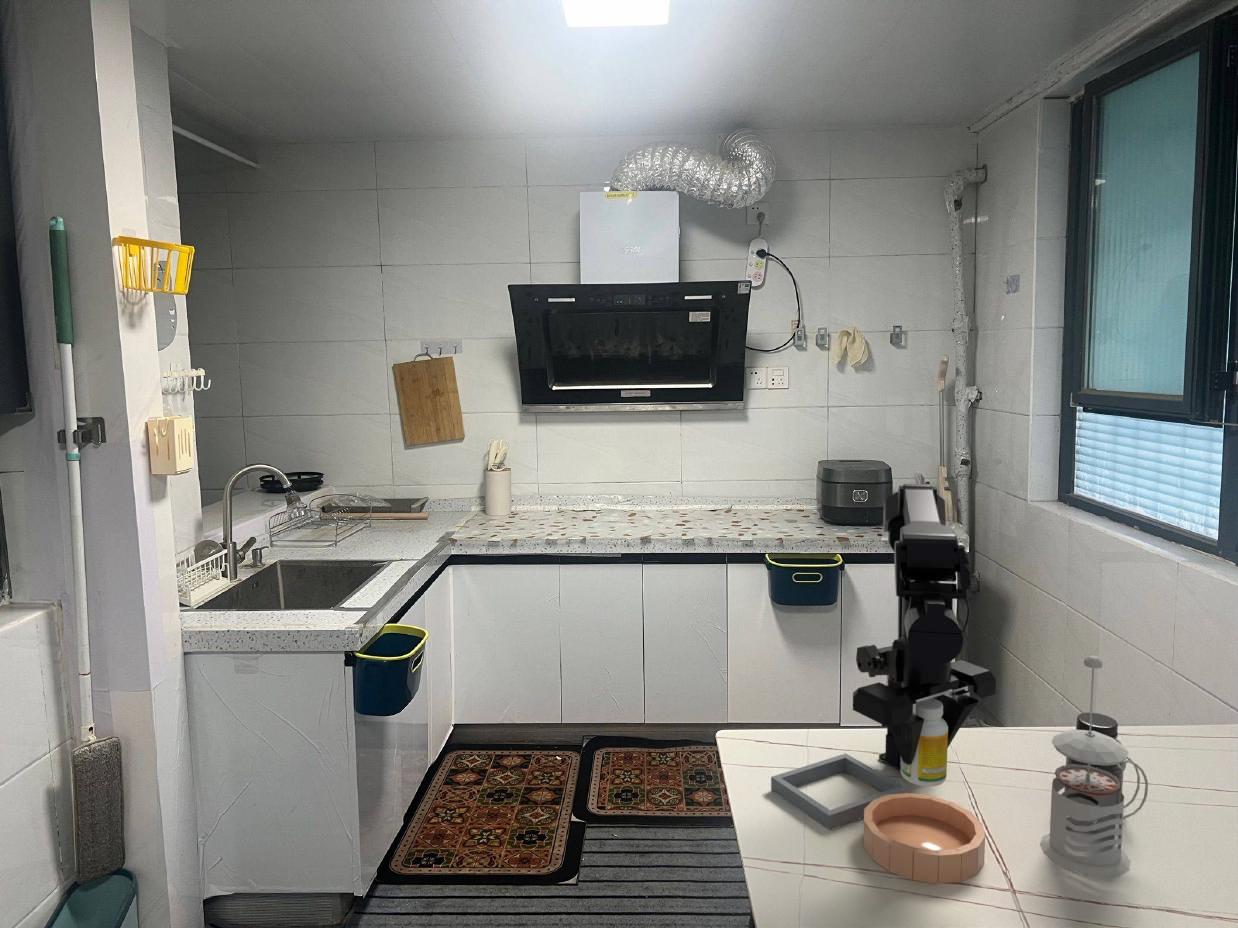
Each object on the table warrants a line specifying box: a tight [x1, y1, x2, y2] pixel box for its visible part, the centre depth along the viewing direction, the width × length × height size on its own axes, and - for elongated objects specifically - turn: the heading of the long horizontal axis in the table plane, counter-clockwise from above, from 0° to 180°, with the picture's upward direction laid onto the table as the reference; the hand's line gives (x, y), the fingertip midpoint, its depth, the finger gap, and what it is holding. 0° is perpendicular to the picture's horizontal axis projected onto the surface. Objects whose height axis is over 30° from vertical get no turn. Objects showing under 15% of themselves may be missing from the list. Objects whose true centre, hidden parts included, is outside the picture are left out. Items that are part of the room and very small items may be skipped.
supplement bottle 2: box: [1063, 712, 1125, 805], centre depth 115 cm, size 7×7×12 cm
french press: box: [1039, 655, 1149, 878], centre depth 103 cm, size 10×12×25 cm
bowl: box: [863, 792, 986, 885], centre depth 106 cm, size 14×14×4 cm
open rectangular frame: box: [770, 752, 908, 831], centre depth 119 cm, size 14×12×2 cm
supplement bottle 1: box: [899, 698, 949, 787], centre depth 104 cm, size 5×5×10 cm
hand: (923, 757), depth 105 cm, fingers closed on supplement bottle 1, 5 cm apart
